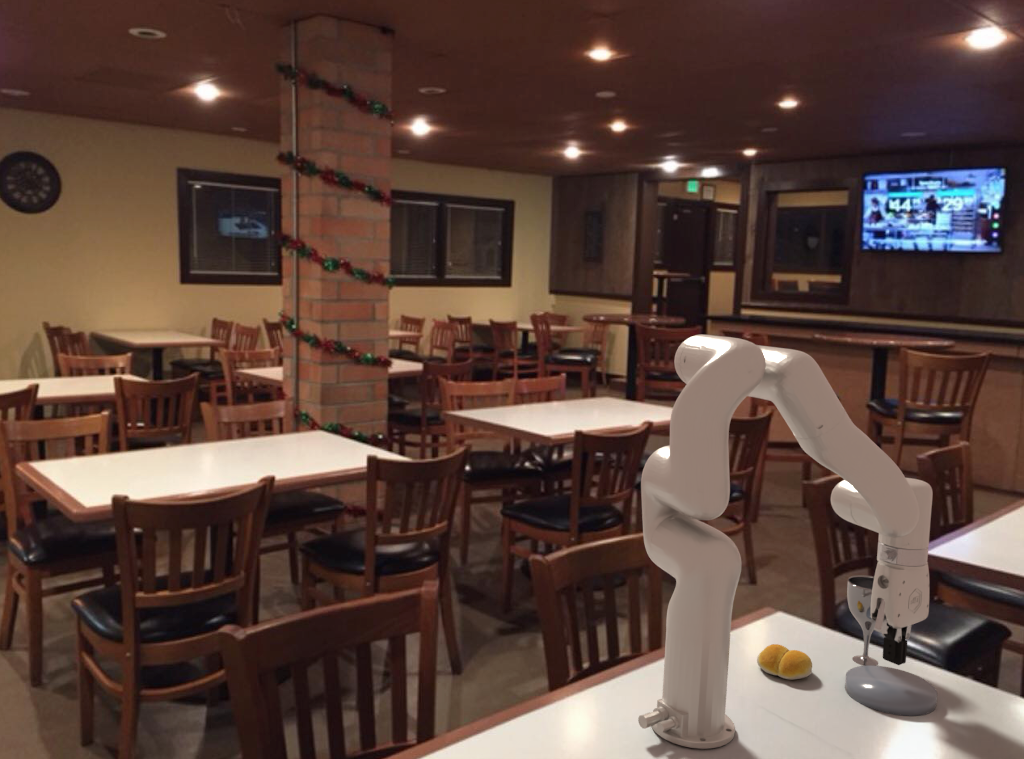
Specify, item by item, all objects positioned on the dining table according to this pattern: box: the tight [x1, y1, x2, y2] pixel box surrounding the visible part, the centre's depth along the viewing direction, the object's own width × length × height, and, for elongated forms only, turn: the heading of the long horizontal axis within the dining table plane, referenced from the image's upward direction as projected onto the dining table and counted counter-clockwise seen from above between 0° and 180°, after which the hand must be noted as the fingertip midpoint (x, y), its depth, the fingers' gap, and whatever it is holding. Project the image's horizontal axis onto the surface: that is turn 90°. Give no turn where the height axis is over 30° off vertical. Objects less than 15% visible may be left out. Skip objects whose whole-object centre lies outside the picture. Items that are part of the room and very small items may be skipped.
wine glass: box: [846, 574, 879, 666], centre depth 157 cm, size 8×8×15 cm
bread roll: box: [756, 643, 813, 680], centre depth 152 cm, size 8×9×4 cm
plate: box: [844, 665, 938, 717], centre depth 145 cm, size 14×14×2 cm
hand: (894, 660), depth 145 cm, fingers closed
